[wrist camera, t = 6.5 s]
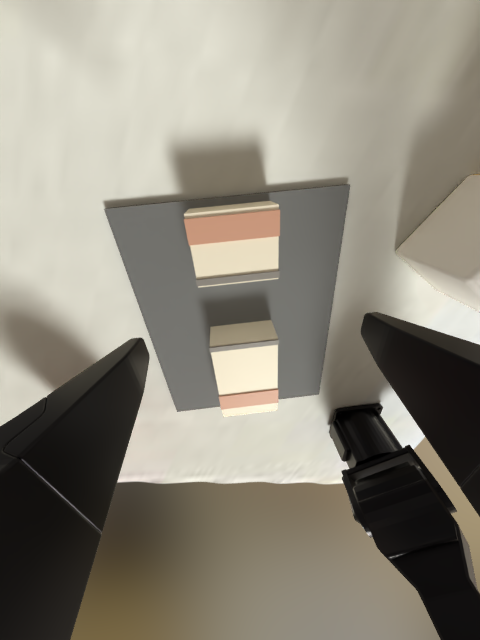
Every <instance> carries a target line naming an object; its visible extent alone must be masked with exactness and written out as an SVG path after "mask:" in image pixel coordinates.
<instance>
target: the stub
mask: <svg viewBox="0 0 480 640" xmlns="http://www.w3.org/2000/svg"><path fill="white" fill-rule="evenodd" d="M184 217H185V219H184V223H185V228H186V233H187V239H188V244H189V246H190V248H191V253H192V258H193V263H194V269H195V274H196V284H197V287H198V288H199V287H209V286H218V285H227V284H236V283H245V282H254V281H264V280H273V279H278V278H279V277H280V271H279V270H278V258H279V236H280V209H279V204H277V203H274V202H272V201H262V202H252V203H242V204H232V205H222V206H212V207H202V208H192V209H188V210H187V211H186V212H185V213H184Z"/></svg>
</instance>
